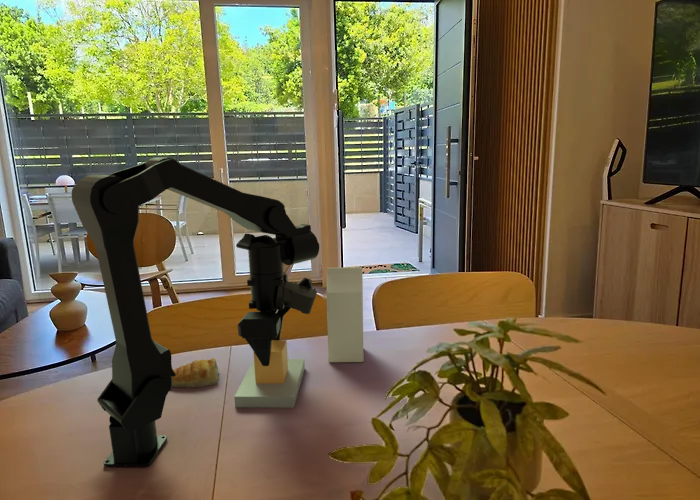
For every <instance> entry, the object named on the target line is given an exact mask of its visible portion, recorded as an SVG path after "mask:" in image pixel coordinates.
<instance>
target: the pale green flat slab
mask: <svg viewBox="0 0 700 500" xmlns="http://www.w3.org/2000/svg"><path fill="white" fill-rule="evenodd" d="M287 359H288V372H287V375H286V378H285V381H284V383H256V381H255V367H254V360H253V361H252V363H251V364H250V367H249V368H248V370H247V372H246V374H245V376H243V377H244V378H243V380H242V382H241V383H240V385H239V387H238V389H237V391H236V392H235V394H234V407H235V408H295V405H296V401H297V398H298V394H299V390H300V388H301V385H302V380H303V377H304V373H305V368H306V365H305V364H306V363H305V358H287Z"/></svg>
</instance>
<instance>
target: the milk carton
mask: <svg viewBox="0 0 700 500" xmlns="http://www.w3.org/2000/svg"><path fill="white" fill-rule="evenodd" d="M363 287H364V285H363V267H326V292H325V293H326V316H327V317H326V321H327V322H326V323H327V353H328V354H327V356H328V360H327V361H328V362H329V363H364V300H363V299H364V298H363V297H364V294H363V293H364V292H363V289H364V288H363Z"/></svg>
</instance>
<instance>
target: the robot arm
mask: <svg viewBox="0 0 700 500" xmlns="http://www.w3.org/2000/svg"><path fill="white" fill-rule="evenodd" d="M166 190H168V191H171V192H173V193H176V194H179V195H180V196H183V197H185V198H189V199H190V200H193V201H196V202H198V203H201V204H203V205H206V206H207V207H210V208H212V209H215V210H217V211H220V212H223V213H224V214H226V215H227V216H228V217H230V218H231V220H233V221H234V222H235V223H236V224H238V225H239V226H241V227H243V228H245V229H246V230H248V231H253V232H260V233H263V235H258V236H257V235H256V236H255V235H254V234H251V233H244V235H243V236H242V238H241V239H240V240H238V242H236V244H235V245H236V246H235V247H236V248H238V249H242V250H246V251H247V252H248V253H247V254H248V264H249V266H248V267H249V277H248V279H246V282H247V283H246V284H247V287H250V295H251V300H250V301H249V302H248V309H249V310H250V309H251V310H255V309H256V311H248V312H246V314H245V315H244V316H242V318H241V320H240V321H239V322H238V323H237V331H238V334H237V335H238V336H240V338H242V339H244V340H245V341H246V342H247V344H248V345H249V346H250V348H251V349H252V351H253V354H254V353H255V354H256V356H257V357H258V359H259V361H260V362H261V364H262V365H263V366H269V363H270V356H271V347H272V340H281V334H282V330H283V322H284V317H285V315H286V314H287V313H288V312H289V311H290V310H291V309H294V310H296V311H299V312H301V313H302V314H305V315H310V314H311V312H312V308H313V306H314V302H315V299H316V296H317V294H318V291H317V290H316V289H317V288H315V287H313V282H312V279H311V278H308V277H303V278H302V279H301V280H300V281H299V282H298V281H294V282H292V281H289V280H288V274H286V272H284V265H286V266H292V265H296V264H300V263H304V262H308V261H312V260H314V259H316V258H317V257H318V255H319V252H320V243H319V242H318V239H317V236H316V235H315V233H313V232H312V227H311V226H312V225H310V224H305V223H302V224H297V225H295V224H294V223H293V222H292V220H291V219H290V217H289V215H288V214H287V213H286V212H287V211H286V206H285V204H284V203H283V202H282V201H280V200H279V199H276V198H269V197H266V196H262V195H258V194H257V195H256V194H251V193H247V192H246V193H245V192H243V191H240V190H238V189H236V188H234V187H231V186H229V185H227V184H226V183H225V184H224V183H222V182H220V181H218V180H216V179H214V178H212V177H209V176H208V175H205V174H203V173H202V172H199V171H197V170H195V169H193V168H190V167H188V166H186V165H183V164H181V162H179V161H177V160H176V159H174V158H171V157H152V158H150V159H148V160H146V161H145V162H141V163H140V164H136V165H134V166H130V167H127V168H124V169H121V170H118V171H115V172H112V173H110V174H106V175H103V174H90V175H86V176H83V177H81V178H80V179H79V180H78V181H77V182H76V183H75V184H74V186H73V187H72V189H71V201H72V204H73V206H74V209H75V211H76V213H77V215H78V218H79V220H80V223H81V225H82V227H83V228H84V230H85V231H86V233H87V235H88V236H89V238H90V240H91V242H93V245H94V246H95V250H96V255H97V259H98V260H97V261H98V264H99V268H100V274H101V277H102V282H103V283H102V284H103V287H104V291H105V292H104V293H105V297H106V302H107V307H108V311H109V315H110V316H109V317H110V320H111V325H112V329H113V334H114V338H115V348H114V351H113V355H112V359H111V372H112V373H111V377H112V378H111V379H110V381H109V383H108V384H107V386H106V387H105V388H104V389H103V391H102V392H101V394H100V395H99V396H98V397H97V399H96V400H97V403H98V404H99V406H100V407H101V409H102V410H103V411H105V412H106V413H107V414H108V415H109V419H108V420H109V425H108V429H109V435H110V442H111V443H110V444H111V450H112V451H111V452H110V454H109V455H107V457H106V459H104V461H103V466H104V467H119V468H120V467H122V468H123V467H124V468H125V467H126V468H129V467H132V468H134V467H135V468H136V467H137V468H146V467H149V466H150V465H151V464H152V462H153V461H154V459H155V458H156V456H157V455H158V454H159V452H160V450H162V447H164V445H165V443H166V442H167V440H168V436H167V435H158V433H157V424H156V421H158V420H159V419H161V418H162V416H163V411H164V406H165V401H166V398H167V396H168V394H169V392H171V391H172V387H173V386H172V377H171V376H173V377H175V376H176V374H175V373H174V371H173V370H174V369H173V365H172V352H171V350H170V349H168V347H165V346H164V345H162V344H160V343H158V342H157V341H155V340H154V339H153V338H152V333H151V327H150V326H151V325H150V321H149V316H148V312H147V311H148V310H147V306H146V302H145V296H144V290H143V285H142V281H141V275H140V269H139V264H138V260H137V255H136V249H135V238H136V234H137V230H138V225H139V224H140V223H139V220H140V217H139V216H140V211H139V208H140V206H142V205H144V204H146V203H148V202H150V201H153V200H154V199H155V198H157V197H158V196H159V195H161V194H162V193H163V192H165V191H166ZM270 235H275V237H272V236H270Z"/></svg>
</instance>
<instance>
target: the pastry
mask: <svg viewBox="0 0 700 500" xmlns="http://www.w3.org/2000/svg"><path fill="white" fill-rule="evenodd" d="M173 371H174V373H175V374H176V376H175V377H173V376H171V377H172V387H174V388H178V387H179V388H181V387H182V388H191V389H192V388H194V387H195V388H196V387H204V386H205V387H206V386H211V385H215V384H217V383H218V380H219V375H218V373H219V371H220V370H219V366H218V364H217V360H216V358H215V357H211V358H210V359H199V360H198V359H196V360H193V361H192V362H189V363H187V364H185V365H180V366H179V367H177V368H175V369H173Z"/></svg>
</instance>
